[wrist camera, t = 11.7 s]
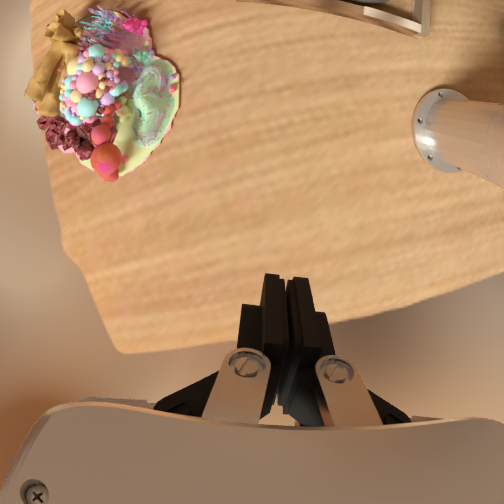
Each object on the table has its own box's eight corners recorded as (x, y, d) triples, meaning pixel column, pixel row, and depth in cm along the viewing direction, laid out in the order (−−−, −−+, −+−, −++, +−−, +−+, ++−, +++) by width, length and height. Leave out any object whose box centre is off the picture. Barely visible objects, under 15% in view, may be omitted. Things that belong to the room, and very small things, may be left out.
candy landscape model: (24, 134, 40) (-12, 144, 31) (76, 1, 30) (43, -12, 22) (143, 193, 44) (117, 214, 36) (216, 44, 35) (203, 28, 26)
